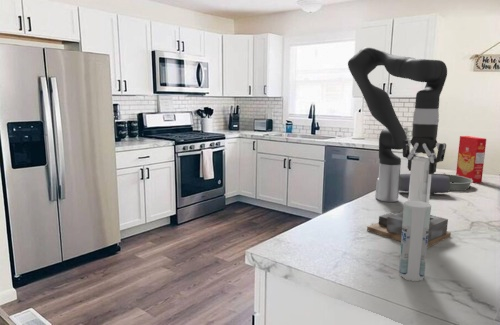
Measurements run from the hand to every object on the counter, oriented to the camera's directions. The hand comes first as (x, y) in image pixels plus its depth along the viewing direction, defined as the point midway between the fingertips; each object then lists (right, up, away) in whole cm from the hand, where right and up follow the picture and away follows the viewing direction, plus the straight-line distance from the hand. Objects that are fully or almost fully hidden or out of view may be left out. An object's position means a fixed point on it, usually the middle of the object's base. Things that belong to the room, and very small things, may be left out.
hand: (421, 172), depth 124 cm
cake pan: (+50, -10, +79) cm, 94 cm away
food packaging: (+71, -7, +93) cm, 117 cm away
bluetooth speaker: (+29, -13, +61) cm, 68 cm away
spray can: (-14, -27, -25) cm, 40 cm away
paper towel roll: (0, -20, +3) cm, 20 cm away
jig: (-2, -22, +6) cm, 23 cm away
